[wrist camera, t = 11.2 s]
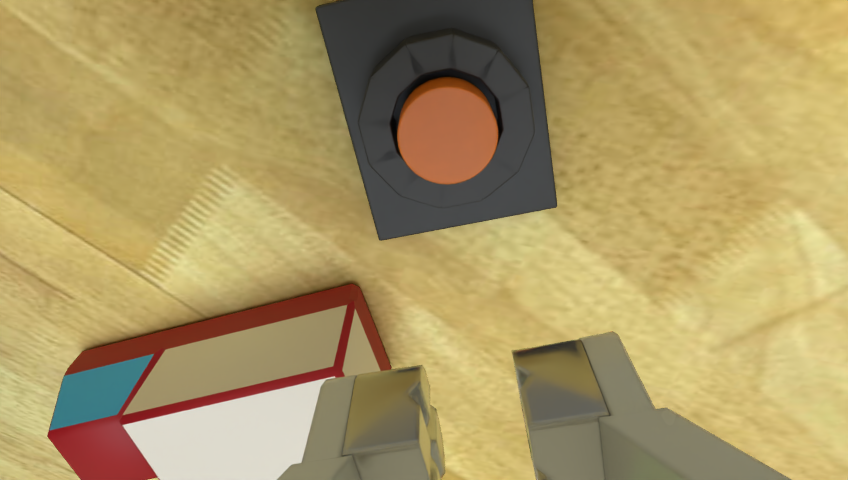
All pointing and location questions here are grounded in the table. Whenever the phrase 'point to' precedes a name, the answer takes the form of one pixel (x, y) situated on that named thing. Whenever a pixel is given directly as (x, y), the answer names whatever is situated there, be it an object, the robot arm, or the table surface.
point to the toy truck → (213, 392)
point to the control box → (428, 59)
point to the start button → (447, 131)
